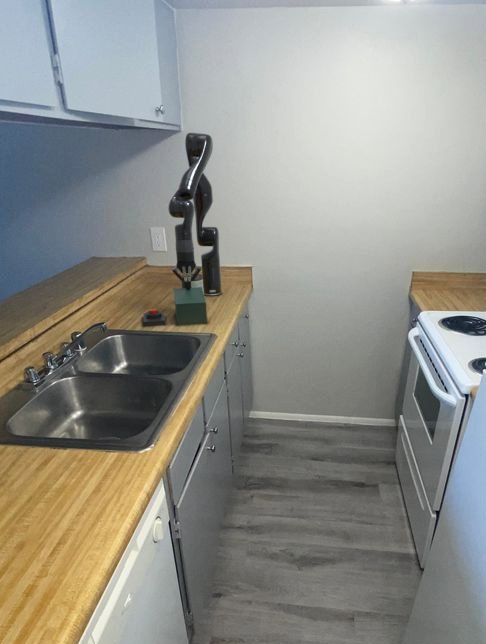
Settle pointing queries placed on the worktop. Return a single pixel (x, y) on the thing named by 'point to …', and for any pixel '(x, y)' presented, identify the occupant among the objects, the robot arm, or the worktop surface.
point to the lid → (189, 296)
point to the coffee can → (195, 282)
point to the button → (153, 311)
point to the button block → (154, 319)
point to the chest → (191, 314)
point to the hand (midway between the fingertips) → (188, 289)
